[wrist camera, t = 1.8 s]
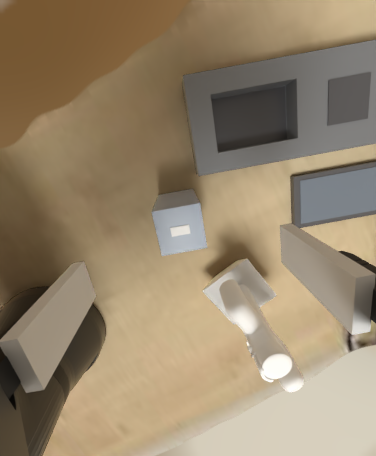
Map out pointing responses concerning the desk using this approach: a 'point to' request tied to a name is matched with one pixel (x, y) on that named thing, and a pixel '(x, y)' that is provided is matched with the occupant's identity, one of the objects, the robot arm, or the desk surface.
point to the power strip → (282, 108)
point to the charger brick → (179, 222)
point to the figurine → (254, 321)
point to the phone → (333, 194)
